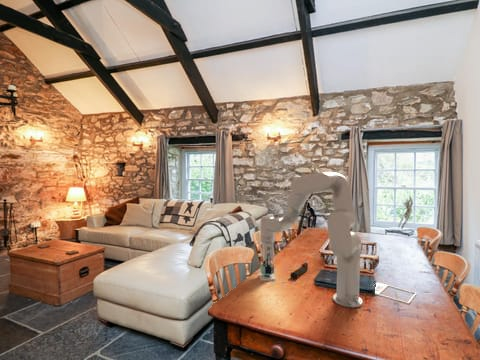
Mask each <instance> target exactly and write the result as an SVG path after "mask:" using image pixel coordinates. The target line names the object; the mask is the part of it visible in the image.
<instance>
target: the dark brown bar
mask: <svg viewBox="0 0 480 360" xmlns="http://www.w3.org/2000/svg"><path fill="white" fill-rule="evenodd" d="M308 269H309V263H308V262H304V263H302V264H301V266H300V267H298V269H296V270H294V271H293V272H291V271H290V275H289V276H290V279H293V280H297V279H298V278H299V277H300V276H301V275H303V274H304V273H307V271H308Z"/></svg>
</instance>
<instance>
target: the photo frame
mask: <svg viewBox="0 0 480 360" xmlns="http://www.w3.org/2000/svg"><path fill="white" fill-rule="evenodd" d="M375 284H376V287H375V294H374V295H376V296H380V297H382V298H387V299H389V300H393V301H396V302H399V303H403V304H406V305H410V304H411V303H412V301H413V300H414V298H415V297H416V296H417V294H418V292H416V291H415V292H414V291H412V290H409V289H408V290H407V289H404V288H401V287H396V286H393V285H390V284H386V283H381V282H378V281H377V282H375ZM388 287H389V288H392V289H396V290H399V291H404V292H407V293H410V294H413V295H412V296H411V298H410V299H408V301H405V300H402V299H397V298H394V297H391V296H388V295H385V294H382V293H383V292H384V291H385V290H386V289H387V288H388Z"/></svg>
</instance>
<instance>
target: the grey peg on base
mask: <svg viewBox="0 0 480 360" xmlns="http://www.w3.org/2000/svg"><path fill="white" fill-rule="evenodd" d="M264 266H266V263H265V265H264ZM258 275H259V280H260V281H261V282H263V281H264V282H266V281H267V282H268V281H272V282H273V281H275V282H276V277H275V273H274V274H272V275H264V274H261V272H259V273H258Z"/></svg>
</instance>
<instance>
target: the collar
mask: <svg viewBox="0 0 480 360" xmlns="http://www.w3.org/2000/svg"><path fill="white" fill-rule="evenodd" d="M264 265H265V263H264V262H263V263H260V273H261V274H264V275H272V274H274V275H275V264H273V263H271V274H265V266H264Z"/></svg>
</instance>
